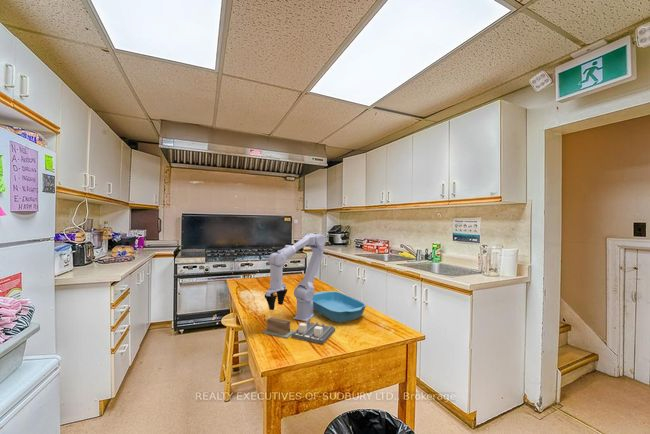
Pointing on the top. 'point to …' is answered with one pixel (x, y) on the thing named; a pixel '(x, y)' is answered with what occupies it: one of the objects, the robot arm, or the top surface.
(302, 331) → the switch tab
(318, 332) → the switch tab
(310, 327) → the switch panel
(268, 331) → the mat
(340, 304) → the casserole dish
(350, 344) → the top surface
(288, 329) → the brown rectangular block
